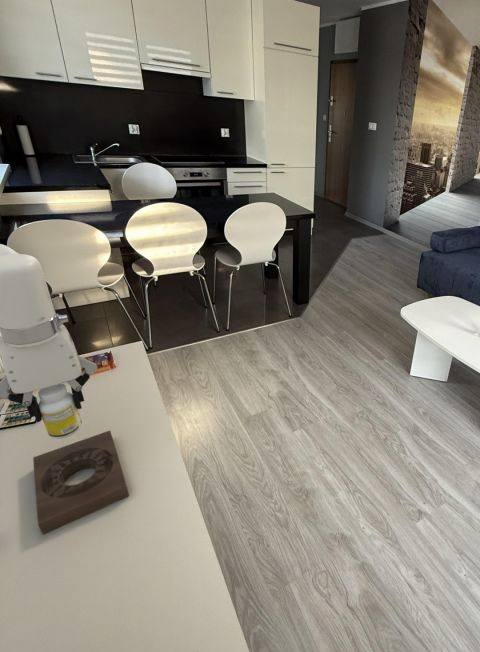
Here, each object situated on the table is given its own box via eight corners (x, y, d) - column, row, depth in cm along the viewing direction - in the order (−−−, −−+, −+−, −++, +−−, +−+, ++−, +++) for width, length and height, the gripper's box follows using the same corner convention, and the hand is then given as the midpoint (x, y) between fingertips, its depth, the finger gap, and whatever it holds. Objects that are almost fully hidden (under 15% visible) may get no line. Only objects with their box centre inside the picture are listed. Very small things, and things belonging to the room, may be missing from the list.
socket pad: (37, 467, 84) (33, 457, 82) (112, 439, 92) (110, 430, 90) (42, 534, 71) (37, 524, 70) (129, 496, 80) (126, 485, 78)
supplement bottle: (58, 419, 78) (44, 380, 74) (87, 419, 79) (76, 380, 75) (41, 440, 74) (26, 399, 69) (73, 439, 74) (60, 399, 70)
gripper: (88, 307, 74) (108, 384, 82) (-38, 331, 64) (-1, 417, 72) (94, 324, 69) (115, 405, 77) (-41, 353, 59) (-1, 443, 67)
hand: (59, 410), depth 74 cm, fingers closed on supplement bottle, 5 cm apart
